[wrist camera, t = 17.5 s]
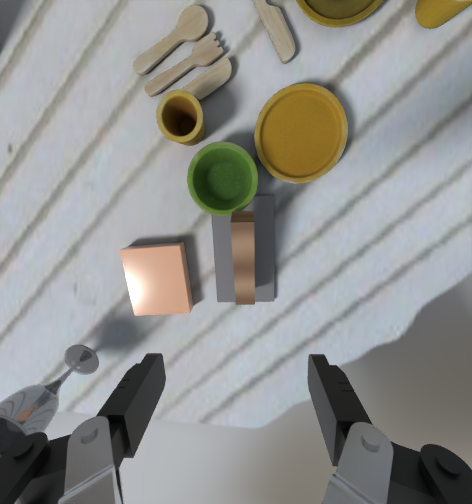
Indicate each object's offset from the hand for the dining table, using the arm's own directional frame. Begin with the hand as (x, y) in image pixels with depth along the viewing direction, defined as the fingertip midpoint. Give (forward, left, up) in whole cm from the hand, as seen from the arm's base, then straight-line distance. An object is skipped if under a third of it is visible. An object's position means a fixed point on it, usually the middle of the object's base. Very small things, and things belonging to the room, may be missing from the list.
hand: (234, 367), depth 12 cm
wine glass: (+22, -34, -26) cm, 48 cm away
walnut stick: (0, 0, -23) cm, 23 cm away
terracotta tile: (-2, -15, -25) cm, 29 cm away
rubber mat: (0, 0, -26) cm, 26 cm away
